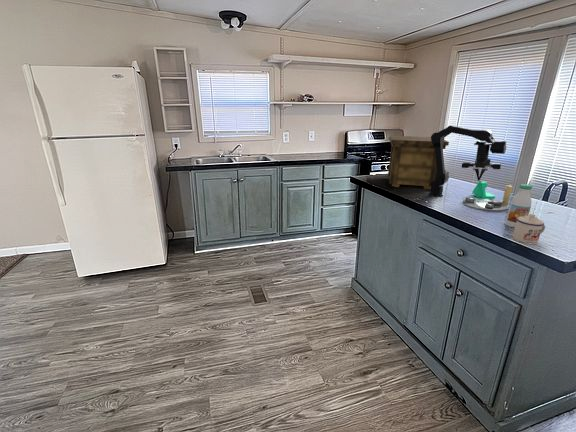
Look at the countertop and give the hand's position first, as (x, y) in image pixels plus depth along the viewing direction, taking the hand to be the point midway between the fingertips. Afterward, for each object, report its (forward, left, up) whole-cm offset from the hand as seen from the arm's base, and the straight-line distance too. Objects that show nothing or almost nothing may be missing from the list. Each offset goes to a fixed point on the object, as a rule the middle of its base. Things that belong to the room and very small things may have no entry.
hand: (478, 180), depth 175 cm
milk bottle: (-10, -37, -14) cm, 41 cm away
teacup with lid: (-19, -52, -14) cm, 57 cm away
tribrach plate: (+2, -6, -13) cm, 15 cm away
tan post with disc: (+3, -12, -12) cm, 17 cm away
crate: (-11, +50, -14) cm, 53 cm away
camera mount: (+15, +9, -14) cm, 22 cm away
